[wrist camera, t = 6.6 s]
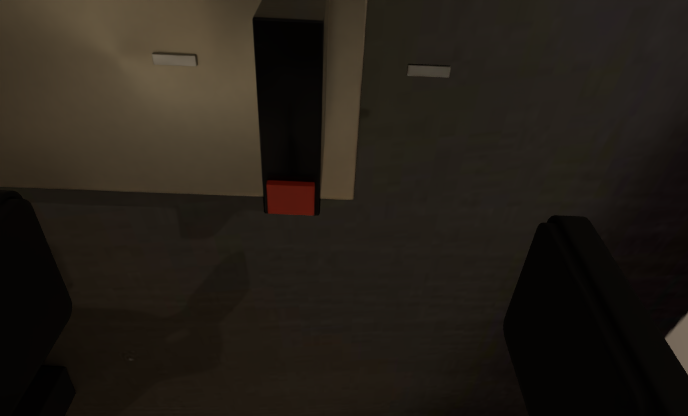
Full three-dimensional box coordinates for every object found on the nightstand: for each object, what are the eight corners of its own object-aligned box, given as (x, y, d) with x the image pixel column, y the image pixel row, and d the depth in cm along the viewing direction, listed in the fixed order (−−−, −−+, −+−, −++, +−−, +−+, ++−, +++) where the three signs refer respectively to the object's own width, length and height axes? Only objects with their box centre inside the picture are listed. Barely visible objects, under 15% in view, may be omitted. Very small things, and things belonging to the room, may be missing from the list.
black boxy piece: (275, -28, 14) (250, 20, 11) (329, -25, 14) (323, 24, 11) (280, 137, 18) (262, 219, 14) (324, 139, 18) (319, 221, 14)
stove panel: (463, -136, 15) (487, -131, 13) (416, 163, 22) (425, 205, 19) (-155, -170, 15) (-258, -171, 12) (-11, 147, 21) (-58, 188, 19)
